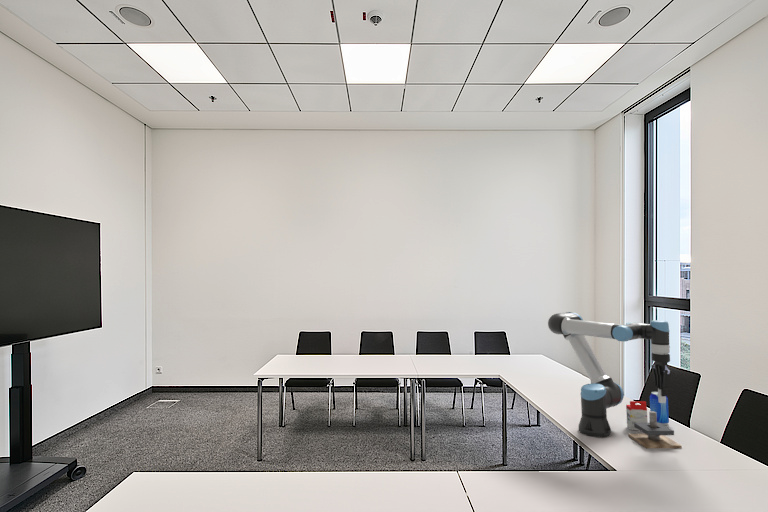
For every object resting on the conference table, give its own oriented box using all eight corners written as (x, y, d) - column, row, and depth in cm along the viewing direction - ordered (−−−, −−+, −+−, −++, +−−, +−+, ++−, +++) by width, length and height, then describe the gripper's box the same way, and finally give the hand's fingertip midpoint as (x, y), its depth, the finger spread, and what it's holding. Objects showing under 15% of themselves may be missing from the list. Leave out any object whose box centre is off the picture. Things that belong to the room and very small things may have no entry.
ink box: (643, 427, 238) (642, 398, 238) (648, 430, 233) (647, 401, 233) (626, 427, 238) (625, 398, 239) (630, 430, 234) (629, 401, 234)
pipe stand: (646, 448, 209) (644, 417, 210) (628, 436, 225) (627, 407, 226) (681, 448, 208) (680, 417, 209) (661, 435, 224) (660, 407, 225)
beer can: (672, 425, 239) (671, 395, 240) (656, 426, 239) (655, 395, 240) (663, 420, 247) (661, 391, 248) (647, 421, 247) (646, 391, 248)
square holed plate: (647, 435, 211) (647, 431, 211) (634, 426, 223) (634, 422, 223) (674, 435, 211) (673, 430, 211) (659, 426, 223) (659, 422, 223)
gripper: (676, 355, 212) (678, 406, 211) (660, 350, 225) (662, 398, 224) (660, 355, 212) (662, 406, 211) (645, 350, 225) (646, 398, 224)
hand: (662, 402), depth 218 cm, fingers closed
